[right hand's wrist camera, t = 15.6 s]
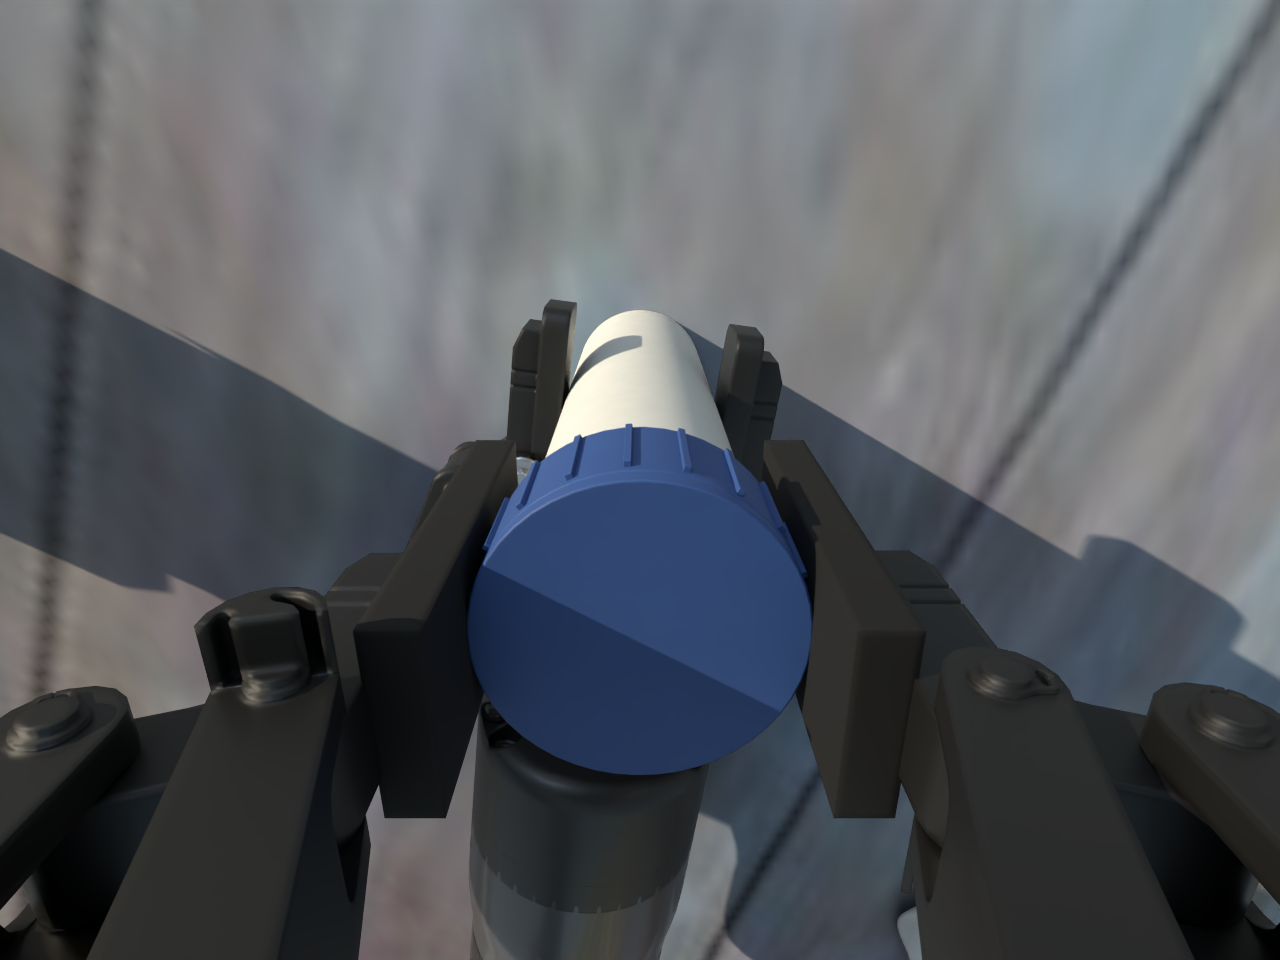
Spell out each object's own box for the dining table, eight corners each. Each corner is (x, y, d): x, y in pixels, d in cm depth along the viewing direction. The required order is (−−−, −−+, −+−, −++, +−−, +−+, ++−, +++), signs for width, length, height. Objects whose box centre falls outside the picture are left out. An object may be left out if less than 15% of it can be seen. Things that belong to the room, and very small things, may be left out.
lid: (808, 654, 13) (842, 746, 11) (539, 707, 13) (520, 805, 11) (760, 390, 11) (788, 438, 9) (451, 460, 12) (409, 521, 9)
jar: (615, 446, 26) (585, 763, 12) (558, 345, 25) (444, 562, 10) (719, 394, 26) (823, 664, 11) (666, 287, 24) (705, 435, 10)
